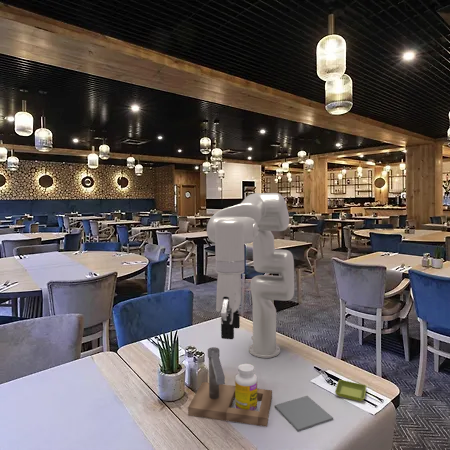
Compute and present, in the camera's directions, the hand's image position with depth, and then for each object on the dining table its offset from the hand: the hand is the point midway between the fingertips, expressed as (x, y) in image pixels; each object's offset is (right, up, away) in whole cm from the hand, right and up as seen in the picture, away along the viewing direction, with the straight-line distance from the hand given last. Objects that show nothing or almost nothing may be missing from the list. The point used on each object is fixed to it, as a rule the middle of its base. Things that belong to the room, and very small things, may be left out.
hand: (230, 332), depth 91 cm
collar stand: (0, -27, +13) cm, 30 cm away
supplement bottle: (+5, -27, +12) cm, 30 cm away
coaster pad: (+21, -27, +10) cm, 36 cm away
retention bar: (-4, -12, +7) cm, 14 cm away
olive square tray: (+39, -26, +19) cm, 51 cm away
